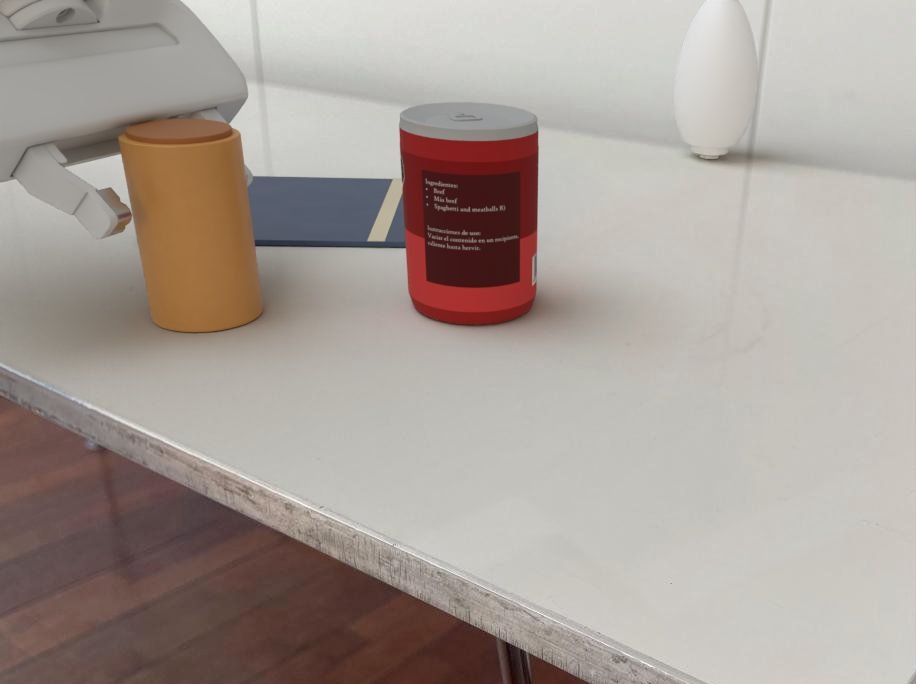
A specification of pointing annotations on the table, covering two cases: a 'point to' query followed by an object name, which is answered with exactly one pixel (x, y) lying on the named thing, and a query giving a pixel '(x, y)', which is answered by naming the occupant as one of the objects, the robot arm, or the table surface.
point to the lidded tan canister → (192, 223)
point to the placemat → (327, 211)
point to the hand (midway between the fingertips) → (183, 208)
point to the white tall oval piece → (716, 79)
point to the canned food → (470, 210)
